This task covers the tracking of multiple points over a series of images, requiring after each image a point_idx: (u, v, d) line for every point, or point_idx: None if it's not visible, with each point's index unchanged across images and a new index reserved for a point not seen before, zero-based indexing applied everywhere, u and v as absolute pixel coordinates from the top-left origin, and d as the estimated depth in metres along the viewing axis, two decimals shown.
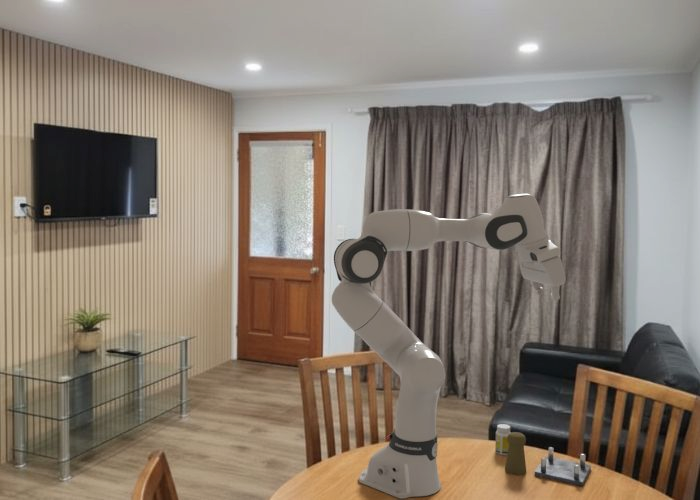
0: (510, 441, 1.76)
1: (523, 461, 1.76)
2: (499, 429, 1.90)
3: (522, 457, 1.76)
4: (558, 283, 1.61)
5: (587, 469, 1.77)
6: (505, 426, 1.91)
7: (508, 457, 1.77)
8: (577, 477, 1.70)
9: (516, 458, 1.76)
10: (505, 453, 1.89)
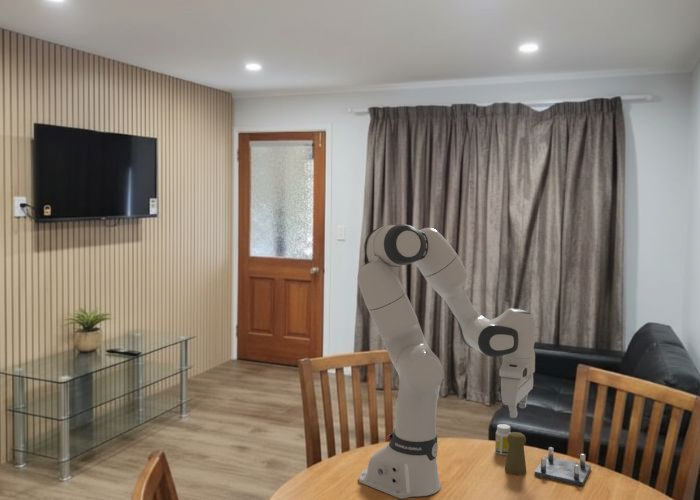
0: (510, 441, 1.76)
1: (523, 461, 1.76)
2: (499, 429, 1.90)
3: (522, 457, 1.76)
4: (506, 402, 1.68)
5: (587, 469, 1.77)
6: (505, 426, 1.91)
7: (508, 457, 1.77)
8: (577, 477, 1.70)
9: (516, 458, 1.76)
10: (505, 453, 1.89)
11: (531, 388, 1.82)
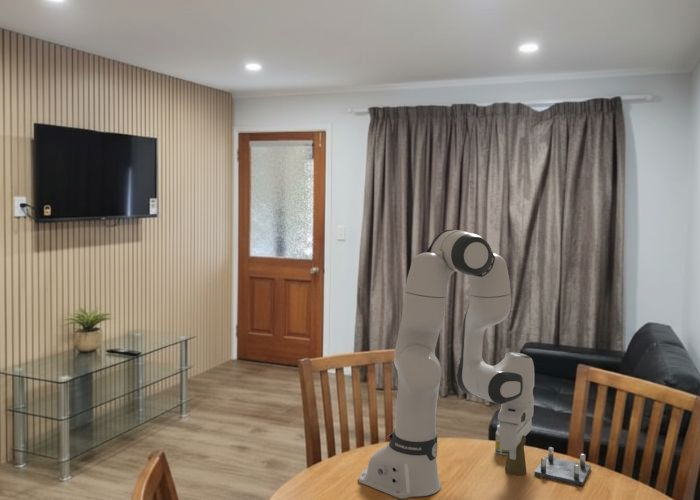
0: None
1: (523, 461, 1.76)
2: None
3: (522, 457, 1.76)
4: (504, 447, 1.69)
5: (587, 469, 1.77)
6: None
7: (508, 457, 1.77)
8: (577, 477, 1.70)
9: (516, 458, 1.76)
10: (505, 453, 1.89)
11: (529, 430, 1.83)
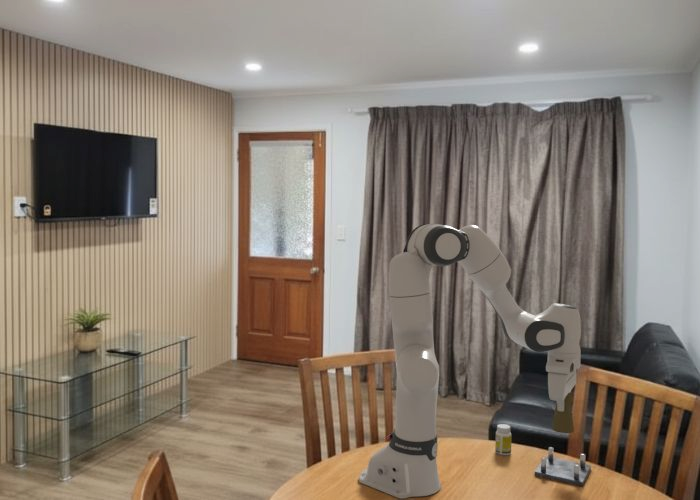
0: None
1: (571, 419, 1.75)
2: (499, 429, 1.90)
3: (570, 415, 1.75)
4: (553, 398, 1.68)
5: (587, 469, 1.77)
6: (505, 426, 1.91)
7: (555, 416, 1.76)
8: (577, 477, 1.70)
9: (564, 417, 1.74)
10: (505, 453, 1.89)
11: (575, 383, 1.82)
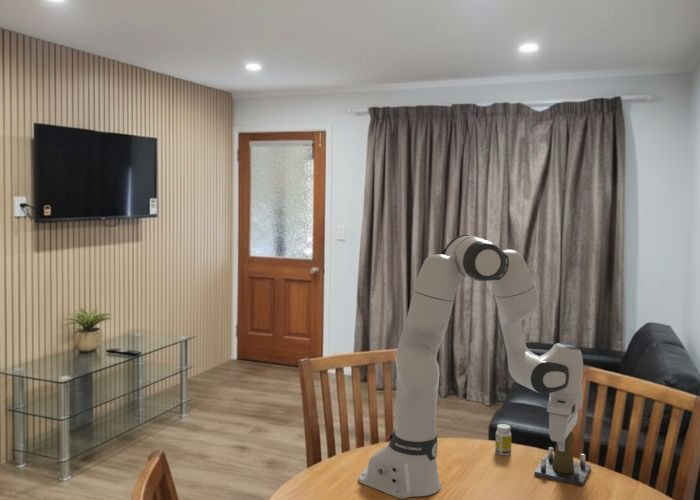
0: None
1: (571, 459, 1.75)
2: (499, 429, 1.90)
3: (570, 455, 1.75)
4: (554, 439, 1.68)
5: (587, 469, 1.77)
6: (505, 426, 1.91)
7: (556, 455, 1.76)
8: (577, 477, 1.70)
9: (565, 456, 1.75)
10: (505, 453, 1.89)
11: (576, 422, 1.82)
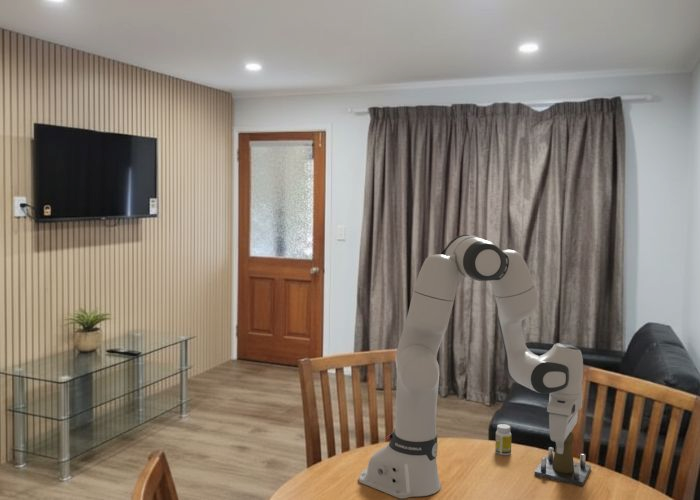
0: None
1: (571, 459, 1.75)
2: (499, 429, 1.90)
3: (570, 455, 1.75)
4: (554, 439, 1.68)
5: (587, 469, 1.77)
6: (505, 426, 1.91)
7: (556, 455, 1.76)
8: (577, 477, 1.70)
9: (565, 456, 1.75)
10: (505, 453, 1.89)
11: (576, 422, 1.82)
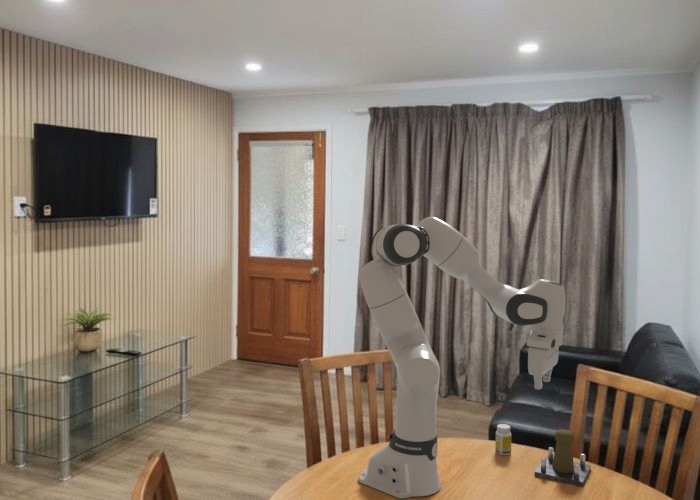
0: (559, 439, 1.75)
1: (571, 459, 1.75)
2: (499, 429, 1.90)
3: (570, 455, 1.75)
4: (532, 372, 1.66)
5: (587, 469, 1.77)
6: (505, 426, 1.91)
7: (556, 455, 1.76)
8: (577, 477, 1.70)
9: (565, 456, 1.75)
10: (505, 453, 1.89)
11: (556, 363, 1.80)
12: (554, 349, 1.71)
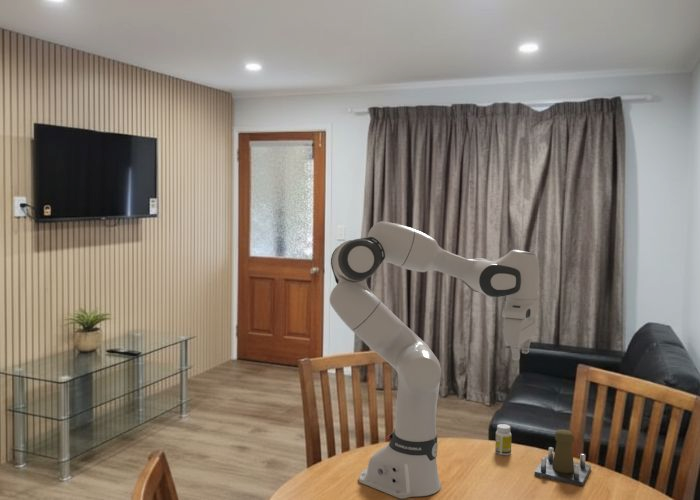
0: (559, 439, 1.75)
1: (571, 459, 1.75)
2: (499, 429, 1.90)
3: (570, 455, 1.75)
4: (509, 343, 1.65)
5: (587, 469, 1.77)
6: (505, 426, 1.91)
7: (556, 455, 1.76)
8: (577, 477, 1.70)
9: (565, 456, 1.75)
10: (505, 453, 1.89)
11: (534, 334, 1.79)
12: (530, 319, 1.70)
